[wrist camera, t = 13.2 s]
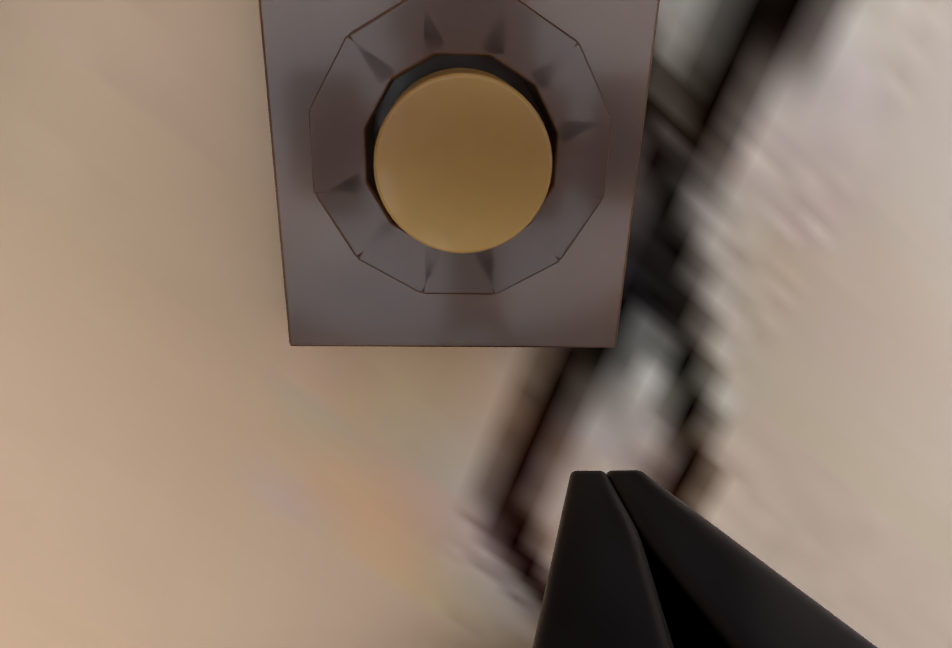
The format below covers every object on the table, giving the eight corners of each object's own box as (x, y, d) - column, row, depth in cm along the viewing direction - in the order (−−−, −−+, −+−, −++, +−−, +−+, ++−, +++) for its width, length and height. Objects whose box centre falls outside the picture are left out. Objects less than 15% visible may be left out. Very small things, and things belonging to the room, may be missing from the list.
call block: (602, 324, 20) (633, 379, 17) (300, 321, 20) (274, 379, 17) (652, -103, 16) (706, -135, 13) (264, -120, 15) (219, -158, 12)
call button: (535, 232, 16) (546, 255, 14) (381, 229, 16) (375, 253, 14) (546, 70, 14) (560, 75, 13) (377, 65, 14) (369, 69, 13)
